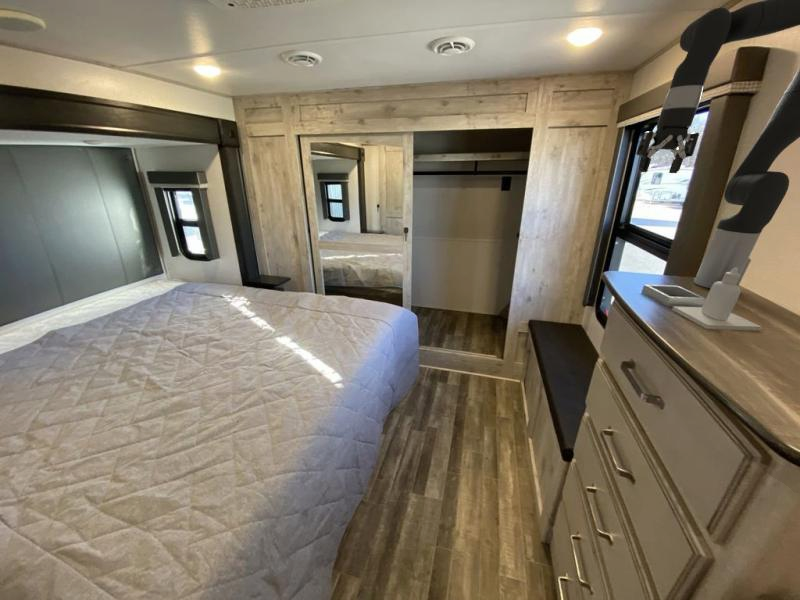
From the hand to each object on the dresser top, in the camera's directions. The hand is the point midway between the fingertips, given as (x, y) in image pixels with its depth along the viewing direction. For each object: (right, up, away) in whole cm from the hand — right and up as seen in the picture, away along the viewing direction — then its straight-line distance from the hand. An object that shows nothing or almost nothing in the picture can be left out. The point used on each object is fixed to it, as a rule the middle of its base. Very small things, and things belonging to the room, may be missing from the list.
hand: (658, 172), depth 91 cm
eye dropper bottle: (0, -41, -16) cm, 44 cm away
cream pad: (0, -42, -16) cm, 45 cm away
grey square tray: (0, -37, -5) cm, 37 cm away
